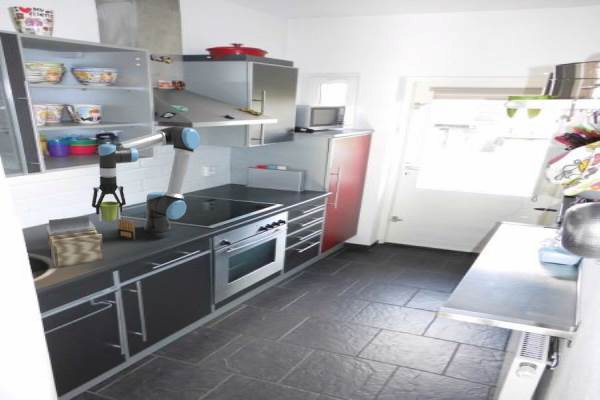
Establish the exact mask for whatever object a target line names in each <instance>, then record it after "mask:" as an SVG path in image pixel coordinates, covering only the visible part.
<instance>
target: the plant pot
mask: <svg viewBox="0 0 600 400" xmlns="http://www.w3.org/2000/svg"><path fill="white" fill-rule="evenodd" d="M118 206H119V203H117V201H110V200H109V201H102V203H101V205H100V208H101V219H102V221H105V222H113V221H116V220H117V208H118Z"/></svg>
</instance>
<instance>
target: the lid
mask: <svg viewBox="0 0 600 400" xmlns="http://www.w3.org/2000/svg"><path fill="white" fill-rule="evenodd" d="M89 218H90V217H89V215H83V216H73V217H64V218H58V219H56V218H55V219H48V225H46V231H47V230H48V232H49V235H53V236H57V235H65V234H73V233H81V232H88V231H89V230H96V229H97V227H96V226H95V224H93V222H92V221H91V220H90V219H89Z"/></svg>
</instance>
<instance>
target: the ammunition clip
mask: <svg viewBox="0 0 600 400" xmlns="http://www.w3.org/2000/svg"><path fill="white" fill-rule="evenodd" d="M117 237H118V238H121V239H127V240H133V241H135V240H136V239H137V237H136V229H135V221H134V219H130V218H128V217H127V218H125V217H124V218H123V217H120V219H118V228H117Z"/></svg>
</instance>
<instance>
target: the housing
mask: <svg viewBox="0 0 600 400" xmlns="http://www.w3.org/2000/svg"><path fill="white" fill-rule="evenodd" d="M46 234H47V245H48V246H47V247H48V249H49V250H50V251H51V259H52V262H53V265H54V266H55V269H58V268H64V267H70V266H75V265H82V264H86V263H93V262H94V263H95V262H100V261H104V252H103V251H104V250H103V234H102V233H99V232H98V231H97V230H96V229H95V230H88V231H80V232H73V233H65V234H57V235H49V232H48V230H47V229H46ZM99 260H100V261H99Z"/></svg>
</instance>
